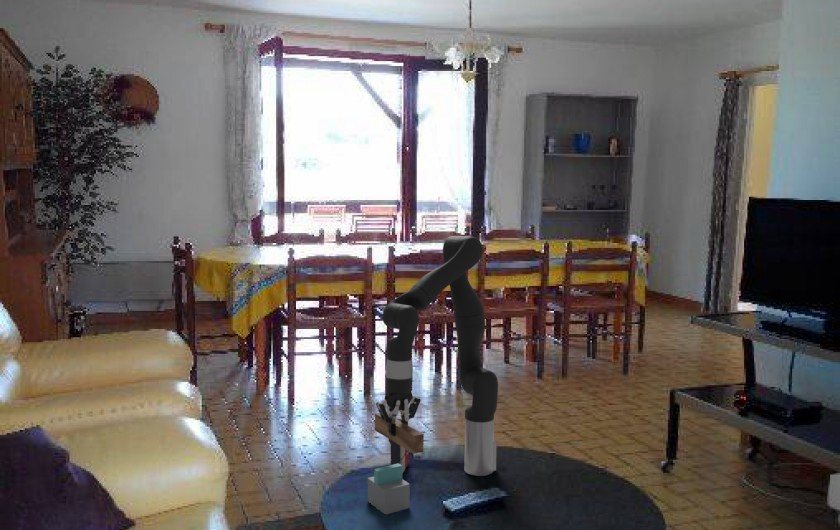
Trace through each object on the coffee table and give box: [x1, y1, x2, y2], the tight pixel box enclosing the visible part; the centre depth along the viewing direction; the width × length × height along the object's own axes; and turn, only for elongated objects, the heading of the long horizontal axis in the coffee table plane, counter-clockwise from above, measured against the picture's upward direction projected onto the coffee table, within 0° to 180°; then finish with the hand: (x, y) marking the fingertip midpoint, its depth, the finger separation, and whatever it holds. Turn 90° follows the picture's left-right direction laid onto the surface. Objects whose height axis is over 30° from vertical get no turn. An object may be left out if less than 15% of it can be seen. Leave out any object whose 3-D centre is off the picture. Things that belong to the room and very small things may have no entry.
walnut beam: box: [374, 412, 425, 455], centre depth 204 cm, size 3×22×5 cm, turn 32°
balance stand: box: [367, 463, 411, 515], centre depth 204 cm, size 8×10×11 cm
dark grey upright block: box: [388, 418, 410, 475], centre depth 228 cm, size 11×4×15 cm, turn 168°
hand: (397, 434), depth 204 cm, fingers closed on walnut beam, 3 cm apart
